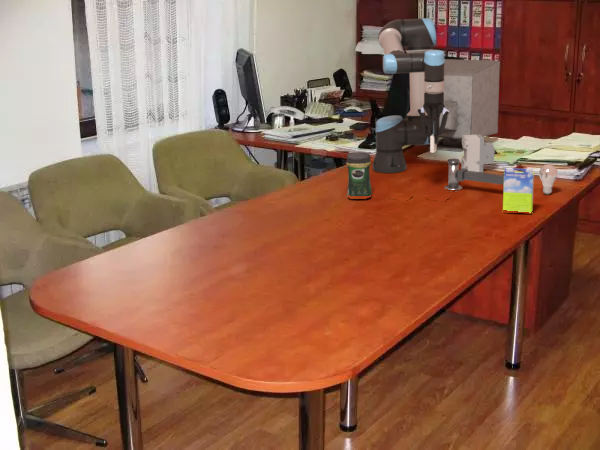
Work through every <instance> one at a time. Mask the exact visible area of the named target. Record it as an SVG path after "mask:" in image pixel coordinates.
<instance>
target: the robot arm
mask: <svg viewBox="0 0 600 450" xmlns="http://www.w3.org/2000/svg"><path fill="white" fill-rule="evenodd" d="M378 44H379V46H380V47H381V48H382V49H383V52H384V55H383V56H382V70H383V73H384V74H392V75H395V74H409V106H410V107H409V108H410V110H409V111H408V113H407V114H406V118H403V116H402V115H394V114H393V115H388V116H383V117H381V118H378V119H377V121H376V122H375V149H376V150H375V155H374V158H373V162H372V170H373V172H377V173H382V174H393V173H400V172H405V171H406V170H407V168H408V167H407V166H408V165H407V162H406V159H405V156H404V155H405V154H404V153H403V152H404V151H403V146H419V145H421V146H422V145H423V146H425V145H430V149H429V151H430V152H429V153H432V154H433V153H436V152H437V151H438V150H437V144H438V143H439V140H440V137H439V135H441V134H443V133H444V129H445V125H446V122H447V118H448V115H449V114H450V110H447V109H445V106H444V93H443V92H442V91H444V62H445V59H446V58H445V52H444V51H443V50H440V49H433V47H435V46H436V45H437V31H436V26H435V24H434V21H433V19H431V18H425V17H424V18H407V19H405V18H404V19H400V18H399V19H395V20H391V21H389V22H387V23H386V24H385V25H384V26H383V27H382V28H381V29H380V31H379V33H378ZM404 48H405V50H404ZM405 52H406V53H405ZM442 111H443V117H442V121H441V125H440V129H439V121H440V114H441V113H442Z"/></svg>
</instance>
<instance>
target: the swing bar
mask: <svg viewBox="0 0 600 450" xmlns="http://www.w3.org/2000/svg"><path fill="white" fill-rule="evenodd" d="M504 172H505V170H503V171H502V173H503V174H499V173H489V172H484V171H483V172H475V171H468V169H466V168H463V169H461V168H460V169H459V171H458V182H464V181H471V182H472V181H473V182H480V183H488V184H494V185H501V186H502V185H503V186H504Z"/></svg>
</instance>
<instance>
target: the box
mask: <svg viewBox="0 0 600 450" xmlns="http://www.w3.org/2000/svg"><path fill="white" fill-rule="evenodd" d="M504 171H505V172H504V185H503V187H502V188H503V193H502V194H503V195H502V196H503V197H502V211H503V210H507V211H518V212H529V213H531V212H532V211H533V209H534V208H533V207H534V185H535V184H534V182H535V172H534V169H533V168H514V167H504ZM532 213H533V212H532Z"/></svg>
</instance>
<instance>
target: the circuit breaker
mask: <svg viewBox="0 0 600 450" xmlns="http://www.w3.org/2000/svg"><path fill="white" fill-rule="evenodd" d="M462 146H463V149H464V150H463V157H462V158H461V160H460V161H461V162H460V163H461V168H460V170H461V169H463V168H466V169H468V171H475V172H483V173H484V165H485V164H486V165H487V164H488V165H489V164H492V165H493V164H494V163H495V155H498V151H497V149H495V145H494V144H493V143H492V142H485V137H482V136H481V134H480V135H463V137H462Z"/></svg>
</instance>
